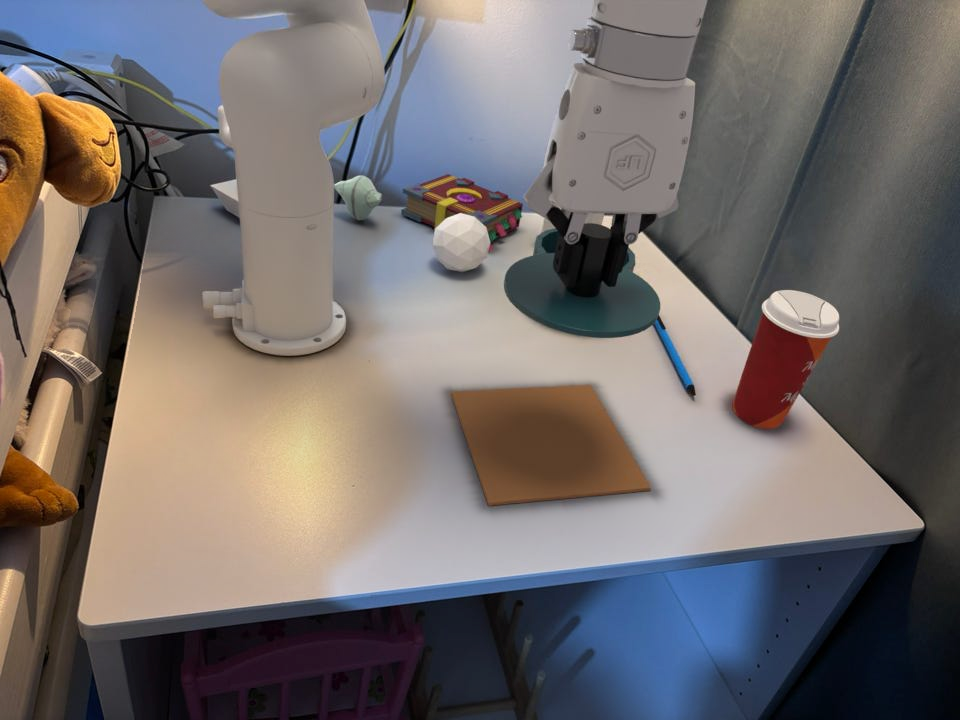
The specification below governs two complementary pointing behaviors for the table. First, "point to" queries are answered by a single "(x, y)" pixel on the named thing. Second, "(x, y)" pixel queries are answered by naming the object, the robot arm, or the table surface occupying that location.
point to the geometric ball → (461, 242)
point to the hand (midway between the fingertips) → (585, 277)
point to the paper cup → (783, 355)
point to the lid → (583, 292)
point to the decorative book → (462, 204)
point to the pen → (675, 356)
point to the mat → (545, 444)
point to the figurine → (229, 188)
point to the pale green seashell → (359, 196)
